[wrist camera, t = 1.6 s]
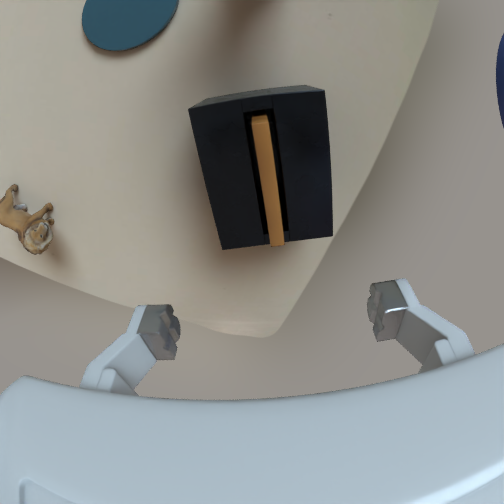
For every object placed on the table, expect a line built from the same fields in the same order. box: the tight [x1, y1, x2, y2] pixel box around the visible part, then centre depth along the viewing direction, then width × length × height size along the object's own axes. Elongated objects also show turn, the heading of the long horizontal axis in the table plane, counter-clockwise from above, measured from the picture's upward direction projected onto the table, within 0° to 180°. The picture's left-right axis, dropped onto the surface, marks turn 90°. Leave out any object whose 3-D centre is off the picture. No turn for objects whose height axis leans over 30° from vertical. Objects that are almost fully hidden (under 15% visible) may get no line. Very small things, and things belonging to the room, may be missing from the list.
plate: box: [82, 0, 179, 51], centre depth 20 cm, size 12×12×1 cm
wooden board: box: [252, 109, 285, 247], centre depth 26 cm, size 1×10×10 cm, turn 9°
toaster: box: [188, 85, 333, 250], centre depth 28 cm, size 11×15×9 cm
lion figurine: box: [0, 184, 54, 255], centre depth 31 cm, size 15×5×9 cm, turn 68°
